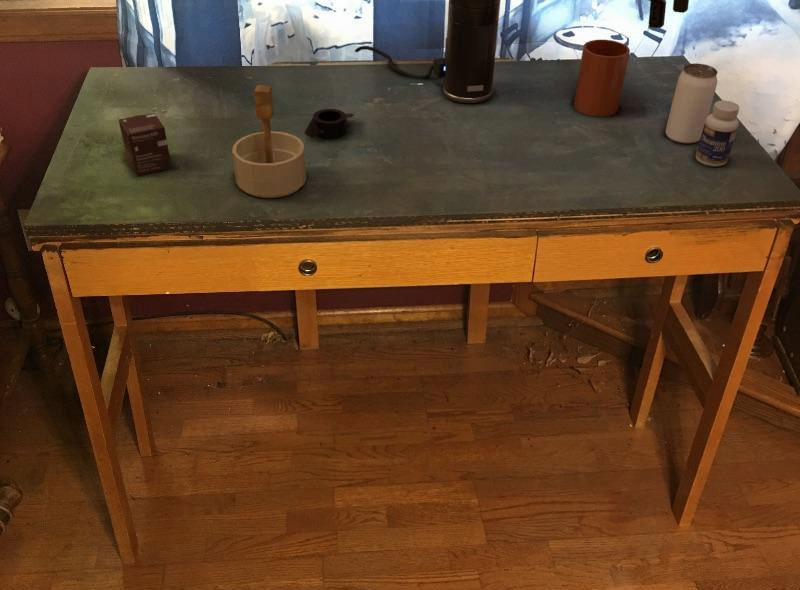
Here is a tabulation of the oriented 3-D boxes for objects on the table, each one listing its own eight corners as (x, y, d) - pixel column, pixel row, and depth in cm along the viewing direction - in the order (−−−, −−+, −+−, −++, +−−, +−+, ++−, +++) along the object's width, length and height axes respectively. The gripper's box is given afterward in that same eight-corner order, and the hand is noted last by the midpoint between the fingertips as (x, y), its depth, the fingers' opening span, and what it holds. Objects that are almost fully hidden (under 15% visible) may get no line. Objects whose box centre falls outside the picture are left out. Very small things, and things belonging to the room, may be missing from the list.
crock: (565, 101, 163) (574, 43, 156) (602, 94, 166) (612, 36, 158) (589, 119, 158) (599, 60, 150) (626, 112, 160) (639, 53, 153)
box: (136, 176, 140) (127, 134, 134) (126, 160, 143) (117, 118, 138) (172, 168, 142) (165, 126, 137) (162, 153, 146) (154, 111, 140)
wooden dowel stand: (256, 183, 137) (246, 93, 127) (261, 171, 140) (252, 81, 130) (280, 185, 137) (273, 94, 127) (286, 173, 140) (278, 83, 130)
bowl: (228, 172, 141) (224, 138, 137) (293, 160, 145) (290, 126, 140) (248, 205, 134) (244, 170, 130) (315, 191, 137) (314, 157, 133)
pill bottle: (690, 161, 147) (705, 107, 140) (701, 149, 150) (716, 95, 143) (721, 170, 145) (737, 115, 138) (731, 158, 148) (748, 104, 141)
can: (702, 146, 151) (721, 79, 143) (665, 142, 152) (681, 75, 143) (700, 130, 156) (718, 64, 147) (664, 126, 156) (680, 60, 148)
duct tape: (298, 125, 154) (297, 109, 152) (352, 119, 156) (352, 103, 154) (306, 144, 149) (305, 129, 147) (362, 138, 151) (362, 122, 149)
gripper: (676, -110, 129) (665, 5, 139) (632, -91, 121) (624, 30, 131) (725, -109, 125) (710, 9, 135) (683, -89, 117) (671, 35, 127)
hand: (668, 19), depth 133 cm, fingers open, 8 cm apart
